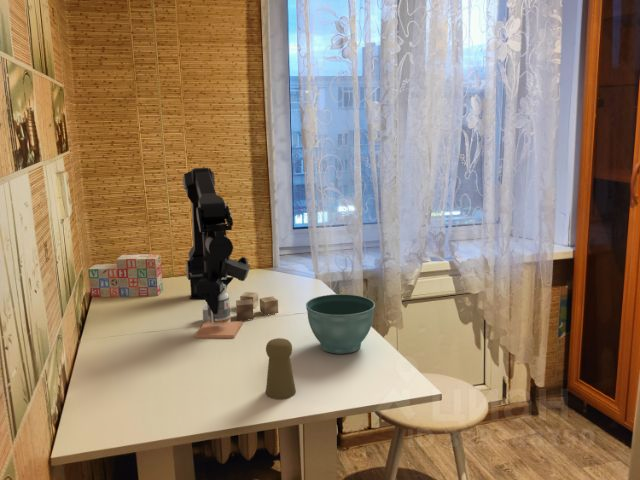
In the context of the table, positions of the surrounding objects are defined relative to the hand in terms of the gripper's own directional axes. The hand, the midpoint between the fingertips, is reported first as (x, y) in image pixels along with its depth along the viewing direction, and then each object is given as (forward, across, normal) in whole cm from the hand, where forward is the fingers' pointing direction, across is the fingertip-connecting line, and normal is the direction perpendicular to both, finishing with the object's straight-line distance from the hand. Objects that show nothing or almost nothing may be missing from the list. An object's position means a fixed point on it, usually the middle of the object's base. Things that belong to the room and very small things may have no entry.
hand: (218, 309), depth 152 cm
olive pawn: (+6, -34, -21) cm, 41 cm away
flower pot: (+6, -10, -32) cm, 34 cm away
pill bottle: (+4, 0, 0) cm, 4 cm away
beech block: (+6, +19, -4) cm, 21 cm away
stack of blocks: (+6, +32, +38) cm, 50 cm away
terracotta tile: (+6, 0, 0) cm, 6 cm away
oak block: (+6, +15, -10) cm, 19 cm away
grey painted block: (+6, +7, +4) cm, 10 cm away
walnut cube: (+6, +10, -4) cm, 13 cm away
